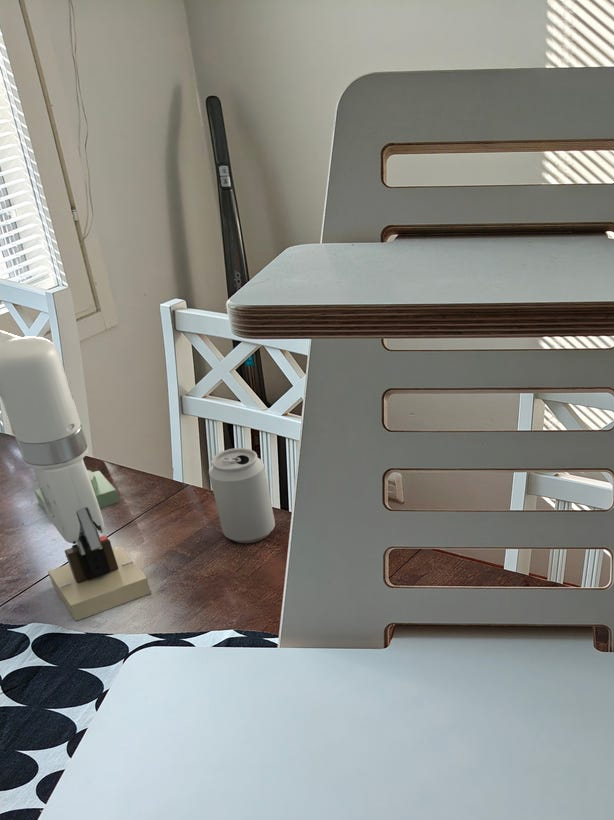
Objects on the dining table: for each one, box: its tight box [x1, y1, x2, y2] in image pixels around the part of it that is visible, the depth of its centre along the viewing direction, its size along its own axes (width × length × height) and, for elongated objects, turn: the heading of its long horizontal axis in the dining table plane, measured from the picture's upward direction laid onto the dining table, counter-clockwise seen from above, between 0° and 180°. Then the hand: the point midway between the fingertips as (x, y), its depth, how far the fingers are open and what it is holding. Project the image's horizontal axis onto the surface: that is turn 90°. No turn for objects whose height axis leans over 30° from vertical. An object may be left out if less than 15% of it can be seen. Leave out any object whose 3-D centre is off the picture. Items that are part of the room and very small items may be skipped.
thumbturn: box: [64, 535, 118, 583], centre depth 127 cm, size 6×1×5 cm, turn 125°
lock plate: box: [47, 545, 152, 622], centre depth 130 cm, size 10×10×3 cm
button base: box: [34, 469, 120, 516], centre depth 149 cm, size 10×8×4 cm
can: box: [208, 447, 276, 544], centre depth 137 cm, size 8×8×12 cm
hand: (95, 571), depth 129 cm, fingers closed
